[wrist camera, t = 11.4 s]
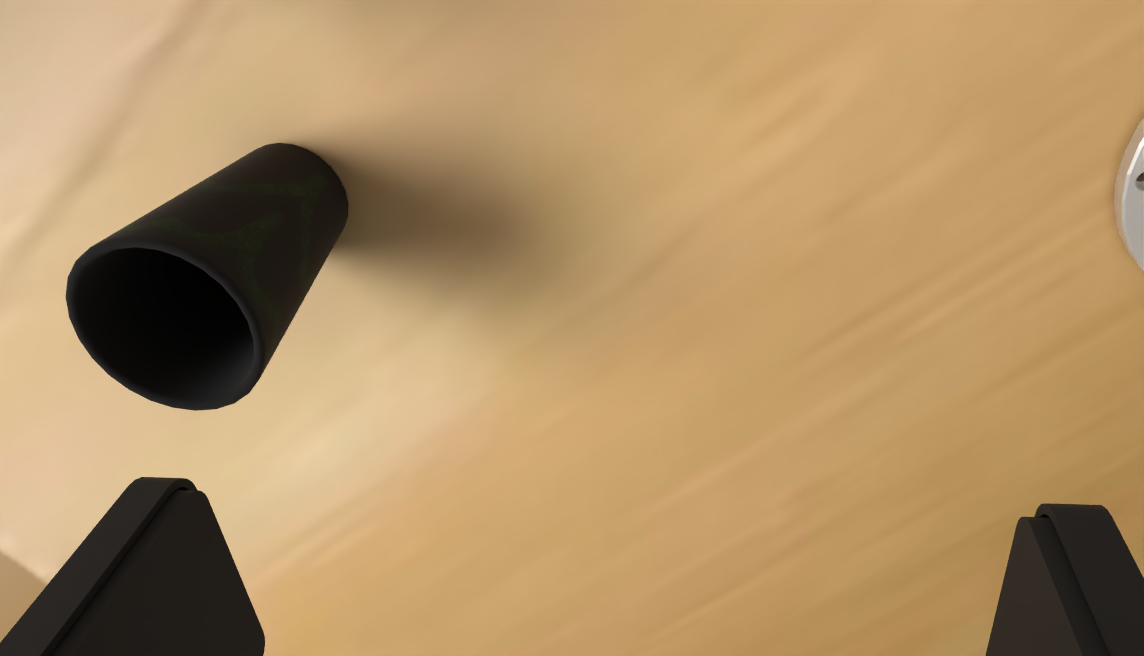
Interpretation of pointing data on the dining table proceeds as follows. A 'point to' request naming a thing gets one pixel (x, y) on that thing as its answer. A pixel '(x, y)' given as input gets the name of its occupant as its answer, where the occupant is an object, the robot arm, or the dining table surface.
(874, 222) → the dining table surface
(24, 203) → the dining table surface
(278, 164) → the cup
